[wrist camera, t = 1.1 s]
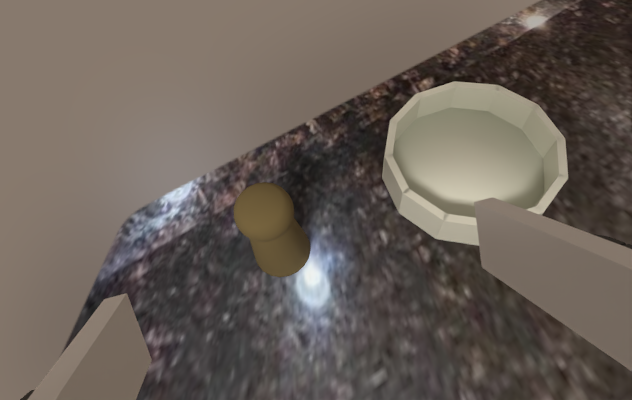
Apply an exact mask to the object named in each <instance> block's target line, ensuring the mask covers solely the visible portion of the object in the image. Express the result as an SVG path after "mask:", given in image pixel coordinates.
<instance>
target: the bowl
mask: <svg viewBox="0 0 632 400" xmlns="http://www.w3.org/2000/svg"><path fill="white" fill-rule="evenodd" d="M382 178H383V181H384V183H385V185H386V187H387V189H388V191H389V193H390V195H391V197H392V199H393V202H394V204H395V206H396V208H397V210H398V212H399V213H400V214H401V215H403V216H404V217H405V218H407V219H408V220H410V221H411V222H413V223H414V224H415V225H417V226H418V227H420V228H421V229H423V230H424V231H425V232H427V233H428V234H430V235H431V236H433V237H434V238H435V239H440V240H446V241H453V242H459V243H466V244H472V245H479V238H478V230H477V222H476V213H475V205H474V202H476V201H480V200H484V199H488V198H492V197H493V198H496V199H499V200H501V201H504V202H507V203H509V204H512V205H515V206H517V207H520V208H523V209H525V210H528V211H531V212H534V213H536V214H539V215H542V214H543V213H544V211H545V210H546V208H547V207H548V205H549V204H550V203H551V201H552V200H553V198H554V197H555V196H556V194H557V193H558V192H559V190H560V189H561V187H562V186H563V185H564V183H565V182H566V181H567V179H568V169H567V156H566V143H565V138H564V136H563V135H562V134H561V133H560V131H559V130H558V129H557V128H556V126H555V125H554V124H553V122H552V121H551V120H550V119H549V117H548V116H547V115H546V114H545V112H544V111H543V110H542V109H541V107H540V106H539V105H538V104H536V103H534V102H532V101H530V100H528V99H526V98H524V97H522V96H520V95H518V94H516V93H514V92H512V91H510V90H508V89H506V88H503V87H501V86H499V85H492V84H480V83H468V82H456V81H454V82H451V83H448V84H445V85H442V86H439V87H436V88H433V89H429V90H426V91H423V92H420V93H417V94H415V95H414V96H413V97H412V98H411V99H410V100H409V101H408V102H407V103H406V105H405V106H404V107H403V108H402V109H401V110H400V111H399V112H398V113H397V114H396V115H395V116H394V117H393V118H392V119H391V120H390V124H389V131H388V137H387V143H386V149H385V155H384V164H383V174H382Z"/></svg>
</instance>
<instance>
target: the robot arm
mask: <svg viewBox="0 0 632 400" xmlns="http://www.w3.org/2000/svg"><path fill="white" fill-rule="evenodd" d="M474 205H475V213H476V222H477V230H478V238H479V247H480V255H481V263H482V268H484V269H485V270H487V271H488V272H490V273H491V274H492V275H494V276H495V277H497V278H498V279H500V280H501V281H503V282H504V283H505V284H507V285H508V286H510V287H511V288H513V289H514V290H516V291H517V292H518V293H520V294H521V295H523V296H524V297H526V298H527V299H528V300H530V301H531V302H533V303H534V304H536V305H537V306H539V307H540V308H541V309H543V310H544V311H546V312H547V313H549V314H550V315H552V316H553V317H554V318H556V319H557V320H559V321H560V322H562V323H563V324H564V325H566V326H567V327H569V328H570V329H572V330H573V331H575V332H576V333H577V334H579V335H580V336H582V337H583V338H585V339H586V340H588V341H589V342H590V343H592V344H593V345H595V346H596V347H598V348H599V349H600V350H602V351H603V352H605V353H606V354H608V355H609V356H611V357H612V358H613V359H615V360H616V361H618V362H619V363H621V364H622V365H624V366H625V367H626V368H628V369H629V370H631V371H632V245H630V244H627V245H626V244H625V243H624V242H621V241H619V240H616V239H613V238H610V237H606V236H601V235H595V234H590V233H587V232H584V231H582V230H579V229H576V228H574V227H571V226H568V225H566V224H563V223H560V222H558V221H555V220H552V219H550V218H547V217H544V216H542V215H539V214H536V213H534V212H531V211H528V210H525V209H523V208H520V207H517V206H515V205H512V204H509V203H507V202H504V201H501V200H499V199H496V198H493V197H492V198H488V199H484V200H480V201H476V202H474ZM150 363H151V357H150V354H149V352H148V349H147V346H146V344H145V341H144V338H143V336H142V333H141V330H140V328H139V325H138V322H137V319H136V317H135V314H134V311H133V309H132V306H131V303H130V301H129V298H128V295H127V293H126V294H122V295H119V296H115V297H111V298H107V299H104V301H103V302H102V303H101V304H100V306H99V307H98V308H97V310H96V311H95V312H94V314H93V315H92V316H91V317H90V319H89V320H88V321H87V323H86V324H85V325H84V327H83V328H82V329H81V330H80V332H79V333H78V334H77V336H76V337H75V338H74V340H73V341H72V342H71V343H70V345H69V346H68V347H67V349H66V350H65V351H64V353H63V354H62V355H61V357H60V358H59V359H58V360H57V362H56V363H55V364H54V366H53V367H52V368H51V370H50V371H49V372H48V374H47V375H46V376H45V377H44V379H43V380H42V381H41V383H40V384H39V385H38V387H37V388H36V389H35V390H32V391H30V392H29V393H27V394H26V395H25V396H24V397H23V398H22V399H20V400H136V398H137V395H138V393H139V390H140V388H141V385H142V383H143V380H144V378H145V375H146V373H147V370H148V368H149V365H150Z"/></svg>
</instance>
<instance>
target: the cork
mask: <svg viewBox="0 0 632 400" xmlns="http://www.w3.org/2000/svg"><path fill="white" fill-rule="evenodd" d="M293 216H294V206H293V202H292V200H291V198H290V196H289V194H288V193H287V192H286V191H285V190H284V189H283V188H282V187H280V186H278V185H276V184H274V183H266V182H263V183H256V184H254V185H251V186H249V187H248V188H246V189H245V190H244V191H243V192H242V193H241V194H240V195H239V197H238V198H237V200H236V202H235V205H234V220H235V222H236V225H237V227H238V228H239V230H240V231H241V232H242V233H243V234H244V235H245V236H247V237H249V238H250V242H251V245H252V249H253V252H254V256H255V259H256V261H257V264H258V266H259V267H260V268H261V269H262V270H263V271H264V272H266V273H267V274H269V275H271V276H277V277H284V276H290V275H292V274H294V273H296V272H298V271H299V270H300V269H301V268H302V267H303V266H304V265H305V263H306V262H307V260H308V258H309V254H310V242H309V240H308V237H307V235H306V234H305V232H304V231H303V229H302V228H301V227H300V225H299V224H298V222H297V221H296V220H295V218H294V217H293Z"/></svg>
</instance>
